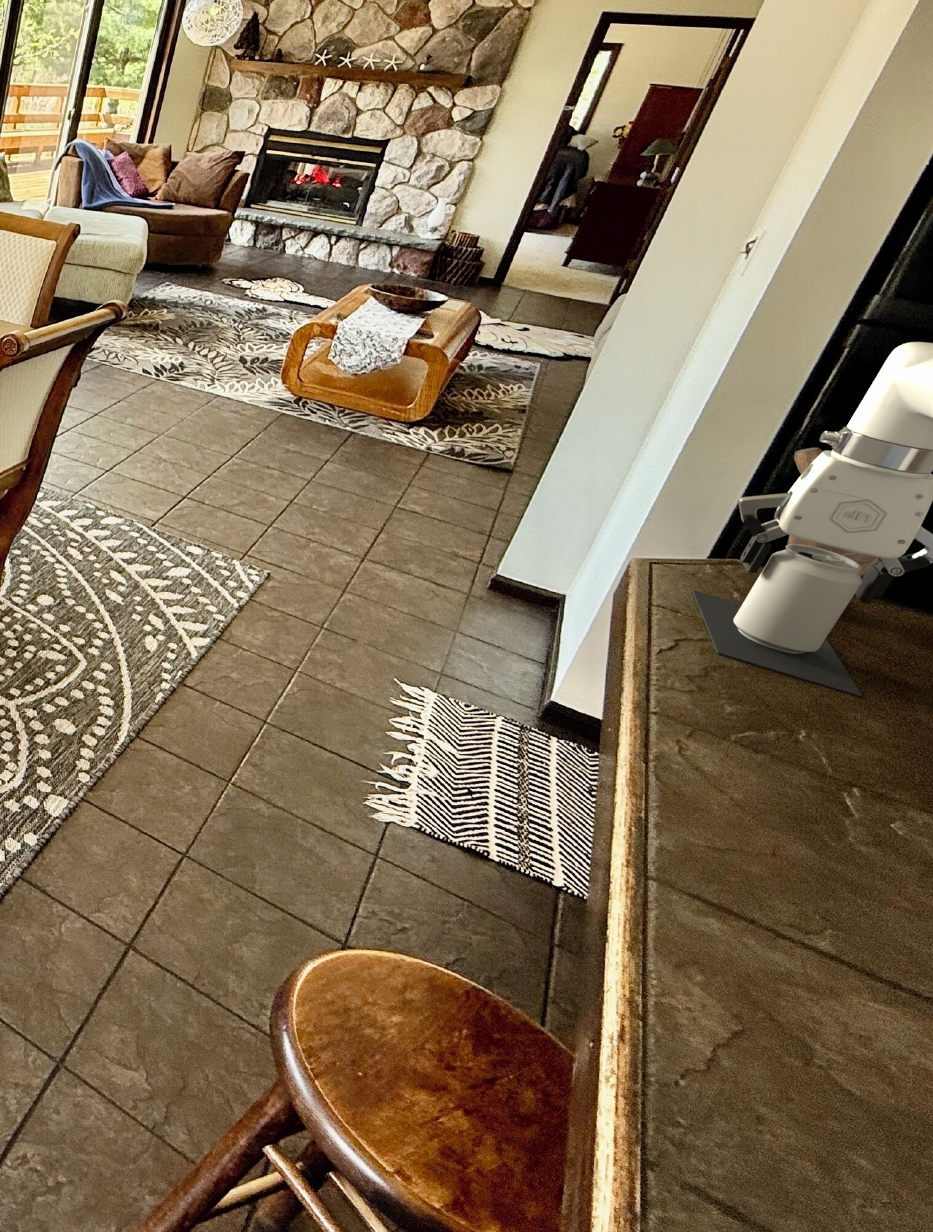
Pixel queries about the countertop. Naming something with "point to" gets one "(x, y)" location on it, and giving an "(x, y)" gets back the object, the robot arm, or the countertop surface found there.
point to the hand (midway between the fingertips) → (803, 583)
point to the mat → (770, 649)
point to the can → (798, 598)
